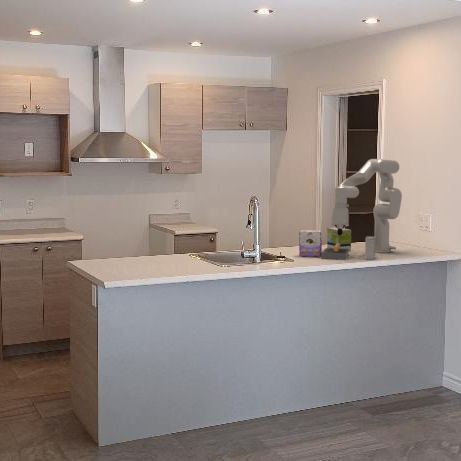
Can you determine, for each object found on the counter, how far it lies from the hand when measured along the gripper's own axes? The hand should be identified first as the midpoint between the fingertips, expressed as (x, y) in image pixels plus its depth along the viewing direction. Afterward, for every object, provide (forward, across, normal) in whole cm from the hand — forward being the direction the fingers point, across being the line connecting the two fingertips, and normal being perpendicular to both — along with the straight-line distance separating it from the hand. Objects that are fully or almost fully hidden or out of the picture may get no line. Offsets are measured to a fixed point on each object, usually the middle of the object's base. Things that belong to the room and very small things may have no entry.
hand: (339, 235), depth 457 cm
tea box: (+14, +4, -30) cm, 34 cm away
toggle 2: (+9, +2, +5) cm, 11 cm away
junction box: (+14, -19, 0) cm, 23 cm away
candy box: (+14, +18, 0) cm, 23 cm away
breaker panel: (+14, +3, 0) cm, 14 cm away
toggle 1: (+9, +2, 0) cm, 9 cm away
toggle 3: (+9, +2, -6) cm, 11 cm away
